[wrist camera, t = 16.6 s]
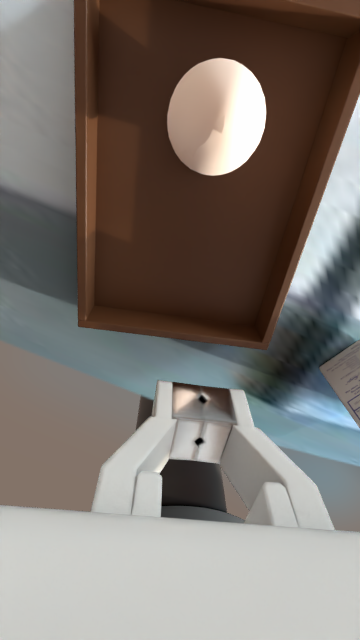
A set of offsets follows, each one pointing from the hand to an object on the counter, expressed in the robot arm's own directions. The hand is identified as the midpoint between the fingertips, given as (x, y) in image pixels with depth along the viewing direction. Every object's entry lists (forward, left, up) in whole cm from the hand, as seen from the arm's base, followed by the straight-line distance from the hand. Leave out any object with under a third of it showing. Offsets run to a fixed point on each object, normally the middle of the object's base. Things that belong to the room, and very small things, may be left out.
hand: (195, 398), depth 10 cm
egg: (+9, 0, -14) cm, 16 cm away
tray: (+5, 0, -14) cm, 15 cm away
